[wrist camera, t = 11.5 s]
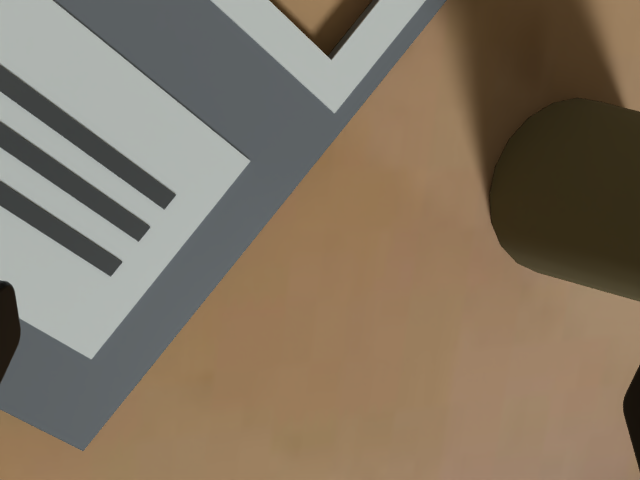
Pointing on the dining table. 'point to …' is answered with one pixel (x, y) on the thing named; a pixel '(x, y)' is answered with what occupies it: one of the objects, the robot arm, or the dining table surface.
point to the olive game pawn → (573, 195)
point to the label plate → (152, 171)
